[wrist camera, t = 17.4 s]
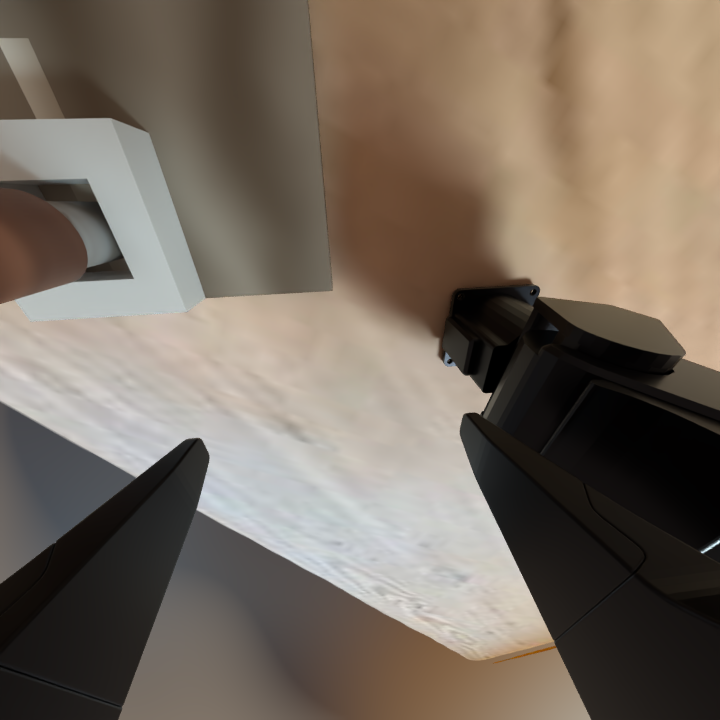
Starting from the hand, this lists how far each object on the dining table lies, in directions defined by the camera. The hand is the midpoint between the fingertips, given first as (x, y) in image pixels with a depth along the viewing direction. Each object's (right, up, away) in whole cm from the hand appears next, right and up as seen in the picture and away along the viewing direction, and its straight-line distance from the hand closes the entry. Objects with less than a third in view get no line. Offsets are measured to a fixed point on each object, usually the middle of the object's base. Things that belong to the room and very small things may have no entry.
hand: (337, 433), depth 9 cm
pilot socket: (-13, +10, +5) cm, 17 cm away
